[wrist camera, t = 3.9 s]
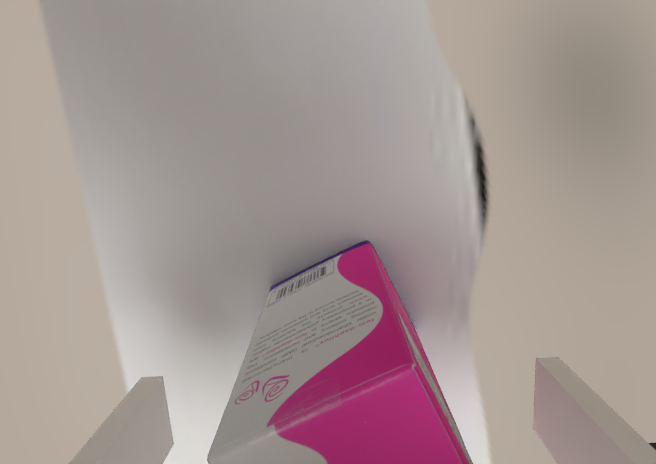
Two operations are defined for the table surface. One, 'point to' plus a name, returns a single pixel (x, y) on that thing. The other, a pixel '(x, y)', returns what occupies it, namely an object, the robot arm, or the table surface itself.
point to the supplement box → (337, 377)
